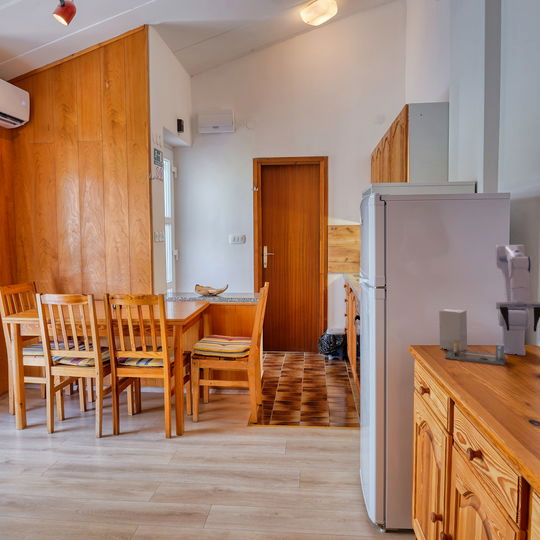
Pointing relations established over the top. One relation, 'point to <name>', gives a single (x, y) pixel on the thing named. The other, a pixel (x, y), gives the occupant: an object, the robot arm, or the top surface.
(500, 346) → the sliding leg
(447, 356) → the bolt plate
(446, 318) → the skincare box
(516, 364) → the top surface
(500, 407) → the top surface
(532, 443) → the top surface
